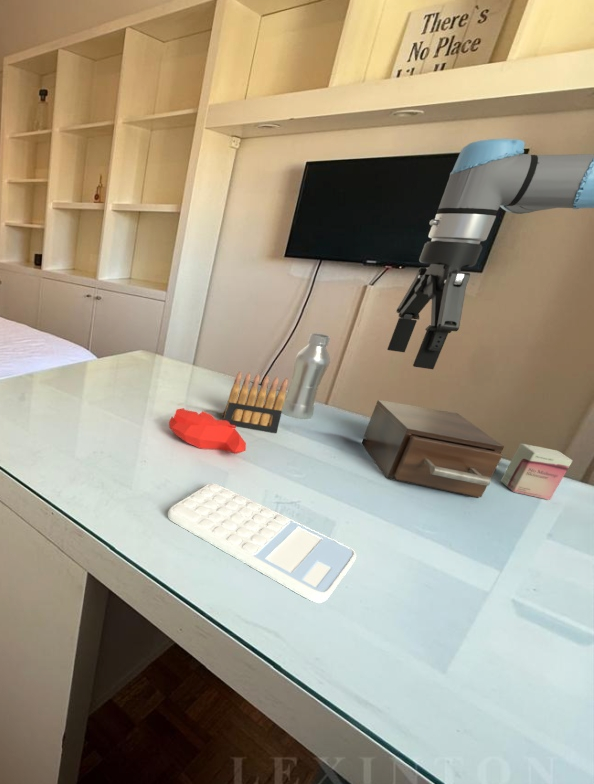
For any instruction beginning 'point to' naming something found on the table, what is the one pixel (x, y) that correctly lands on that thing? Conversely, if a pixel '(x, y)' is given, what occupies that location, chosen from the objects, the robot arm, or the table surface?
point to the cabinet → (417, 433)
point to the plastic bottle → (307, 377)
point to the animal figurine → (206, 431)
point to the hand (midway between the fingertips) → (408, 358)
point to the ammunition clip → (255, 404)
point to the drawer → (447, 465)
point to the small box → (536, 471)
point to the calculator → (266, 541)
